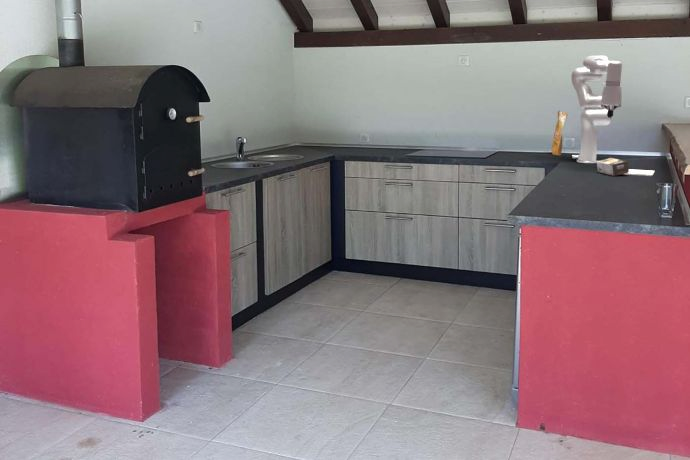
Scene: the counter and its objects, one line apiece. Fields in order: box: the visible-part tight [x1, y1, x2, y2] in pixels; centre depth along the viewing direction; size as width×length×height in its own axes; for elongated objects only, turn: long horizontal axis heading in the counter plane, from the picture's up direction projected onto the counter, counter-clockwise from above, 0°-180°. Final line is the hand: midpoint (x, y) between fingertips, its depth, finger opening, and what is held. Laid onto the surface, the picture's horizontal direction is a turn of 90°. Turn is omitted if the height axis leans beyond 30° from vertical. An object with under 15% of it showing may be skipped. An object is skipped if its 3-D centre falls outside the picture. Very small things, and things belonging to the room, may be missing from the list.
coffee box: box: [596, 157, 629, 177], centre depth 393 cm, size 9×6×16 cm
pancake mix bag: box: [551, 110, 568, 156], centre depth 481 cm, size 7×19×28 cm, turn 173°
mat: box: [624, 168, 655, 177], centre depth 397 cm, size 20×16×1 cm
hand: (609, 117), depth 410 cm, fingers closed
